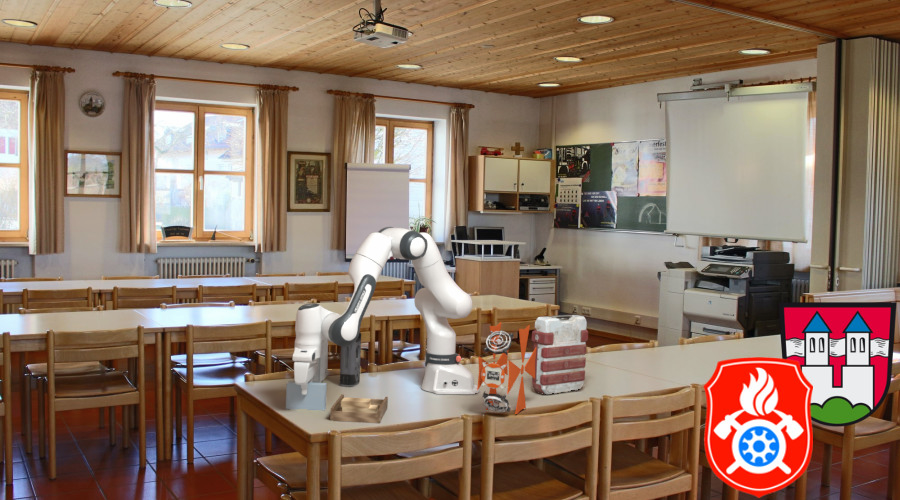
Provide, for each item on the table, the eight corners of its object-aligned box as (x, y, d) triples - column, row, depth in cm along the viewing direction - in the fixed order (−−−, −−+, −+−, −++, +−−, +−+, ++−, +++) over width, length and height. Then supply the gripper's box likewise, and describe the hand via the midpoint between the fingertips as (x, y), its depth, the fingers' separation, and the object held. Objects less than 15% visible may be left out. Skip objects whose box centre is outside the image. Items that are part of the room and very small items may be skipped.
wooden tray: (387, 408, 273) (387, 396, 272) (379, 423, 253) (380, 410, 253) (341, 405, 273) (341, 394, 273) (330, 420, 254) (330, 408, 254)
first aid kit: (571, 386, 320) (574, 312, 318) (586, 390, 313) (589, 315, 311) (528, 392, 306) (532, 315, 305) (543, 397, 299) (546, 318, 298)
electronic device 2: (475, 417, 265) (479, 328, 263) (506, 399, 293) (509, 319, 291) (506, 422, 261) (510, 332, 259) (534, 403, 288) (537, 321, 287)
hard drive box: (308, 375, 321) (310, 326, 320) (327, 376, 320) (329, 327, 319) (300, 383, 305) (301, 332, 304) (319, 384, 305) (321, 333, 304)
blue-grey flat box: (325, 409, 269) (326, 383, 268) (324, 411, 266) (325, 385, 265) (288, 407, 269) (288, 381, 269) (285, 409, 266) (286, 383, 266)
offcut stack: (378, 417, 262) (379, 399, 261) (376, 421, 257) (377, 402, 256) (339, 415, 262) (340, 397, 262) (336, 418, 257) (337, 400, 257)
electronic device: (353, 387, 302) (354, 335, 301) (338, 386, 303) (340, 334, 302) (360, 382, 311) (362, 332, 310) (346, 381, 312) (348, 331, 311)
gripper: (305, 346, 277) (304, 385, 278) (291, 356, 257) (289, 398, 257) (323, 346, 277) (322, 386, 278) (310, 357, 256) (309, 399, 257)
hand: (306, 392), depth 267 cm, fingers open, 4 cm apart
